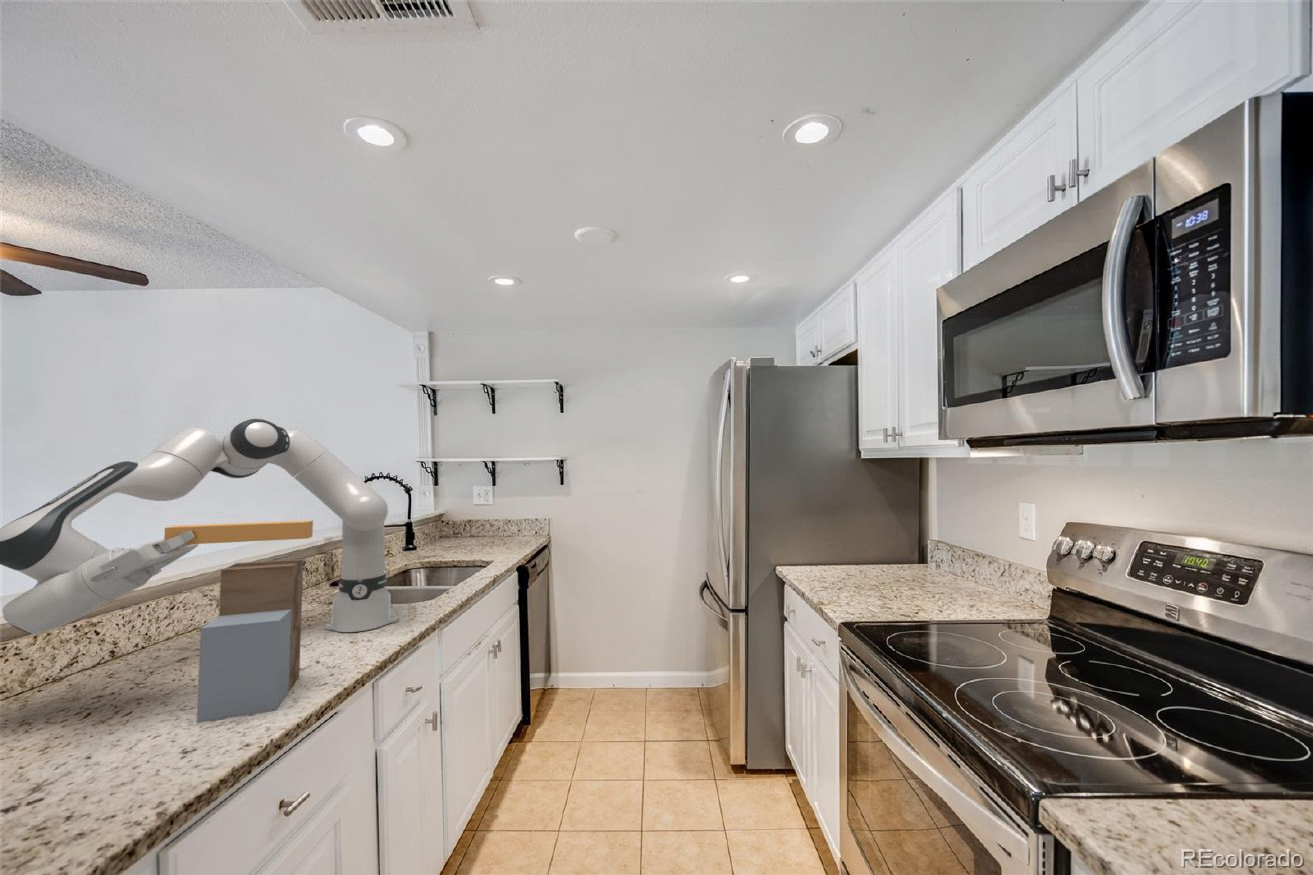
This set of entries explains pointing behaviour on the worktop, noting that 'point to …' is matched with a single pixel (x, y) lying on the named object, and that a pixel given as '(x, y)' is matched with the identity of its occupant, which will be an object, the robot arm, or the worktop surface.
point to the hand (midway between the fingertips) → (199, 531)
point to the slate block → (243, 664)
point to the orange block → (243, 532)
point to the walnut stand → (266, 596)
